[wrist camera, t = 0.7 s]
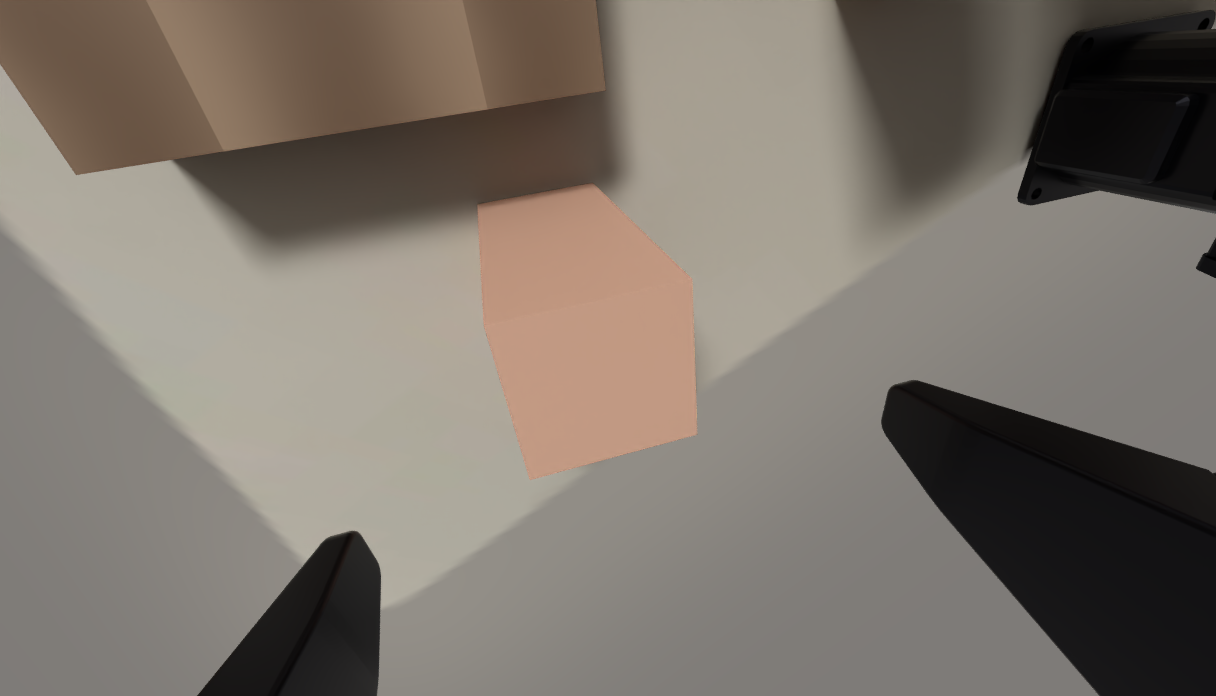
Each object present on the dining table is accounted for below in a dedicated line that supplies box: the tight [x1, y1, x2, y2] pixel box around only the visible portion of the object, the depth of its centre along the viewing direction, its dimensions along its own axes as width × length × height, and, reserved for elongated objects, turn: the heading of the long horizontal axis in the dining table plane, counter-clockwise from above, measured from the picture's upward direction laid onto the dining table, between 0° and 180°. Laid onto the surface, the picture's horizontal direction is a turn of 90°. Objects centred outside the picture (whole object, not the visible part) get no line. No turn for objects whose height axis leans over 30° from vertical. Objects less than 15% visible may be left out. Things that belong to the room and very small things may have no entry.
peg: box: [477, 183, 697, 480], centre depth 14 cm, size 4×4×9 cm
